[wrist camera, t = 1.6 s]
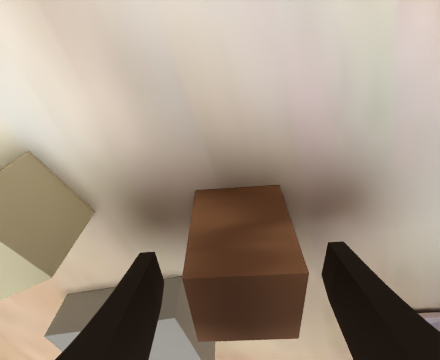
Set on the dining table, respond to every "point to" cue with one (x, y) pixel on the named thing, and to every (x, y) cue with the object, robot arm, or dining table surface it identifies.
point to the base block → (165, 331)
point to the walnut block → (244, 266)
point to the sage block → (35, 224)
